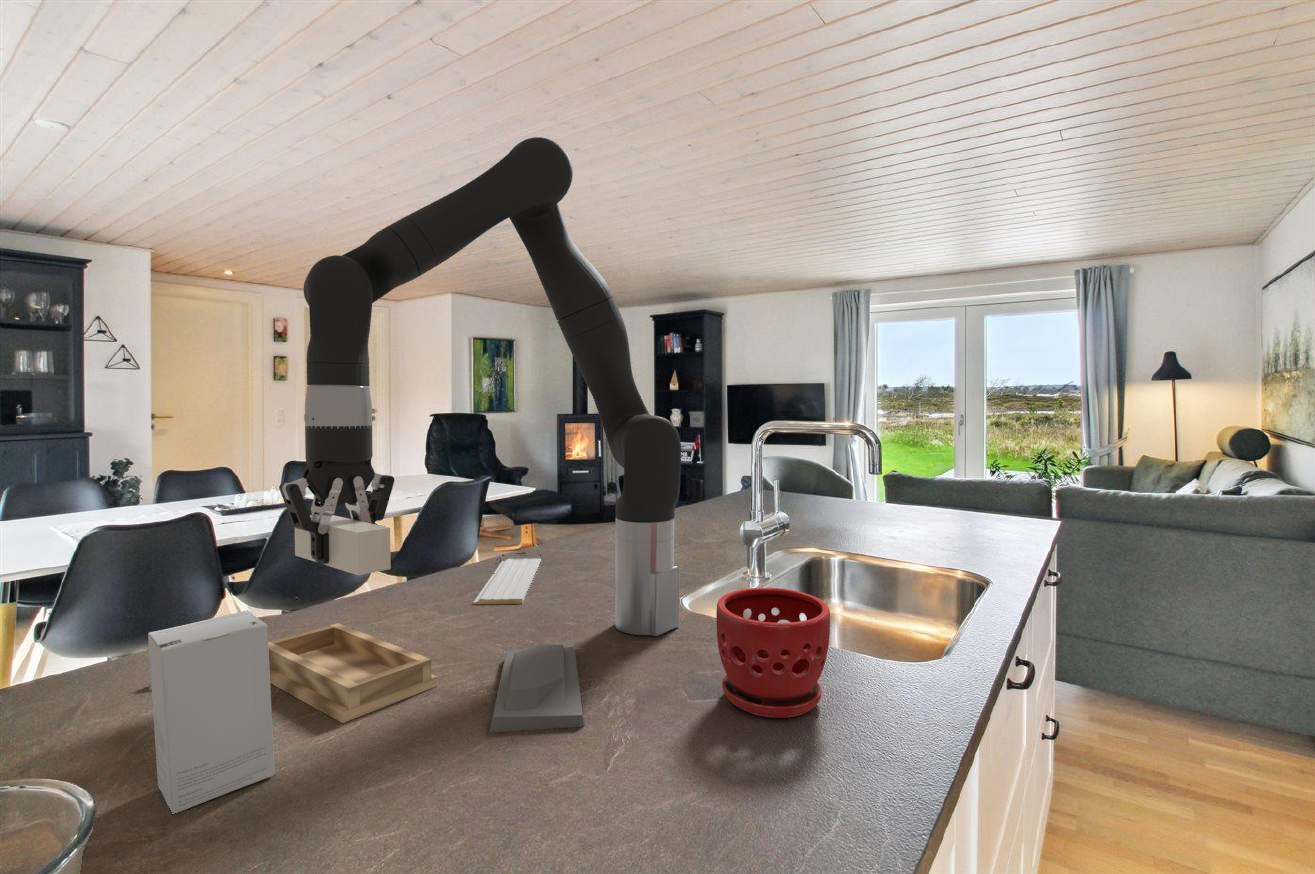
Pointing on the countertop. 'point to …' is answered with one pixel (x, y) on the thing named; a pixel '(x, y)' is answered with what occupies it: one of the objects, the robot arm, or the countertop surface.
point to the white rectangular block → (351, 546)
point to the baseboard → (509, 582)
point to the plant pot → (772, 650)
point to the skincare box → (211, 707)
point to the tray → (346, 671)
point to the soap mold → (538, 690)
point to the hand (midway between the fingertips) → (341, 558)
